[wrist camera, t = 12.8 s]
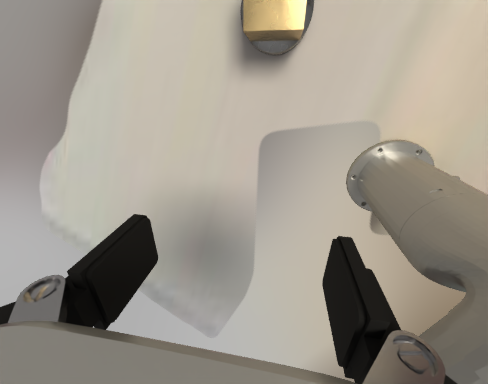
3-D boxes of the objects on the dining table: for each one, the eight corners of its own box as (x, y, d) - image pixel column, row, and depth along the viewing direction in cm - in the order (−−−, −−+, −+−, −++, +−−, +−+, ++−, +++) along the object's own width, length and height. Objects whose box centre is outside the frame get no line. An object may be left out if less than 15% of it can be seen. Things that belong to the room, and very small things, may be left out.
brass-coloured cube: (306, -27, 25) (312, -58, 19) (299, 40, 28) (303, 29, 22) (251, -23, 26) (243, -52, 20) (250, 41, 28) (243, 31, 23)
